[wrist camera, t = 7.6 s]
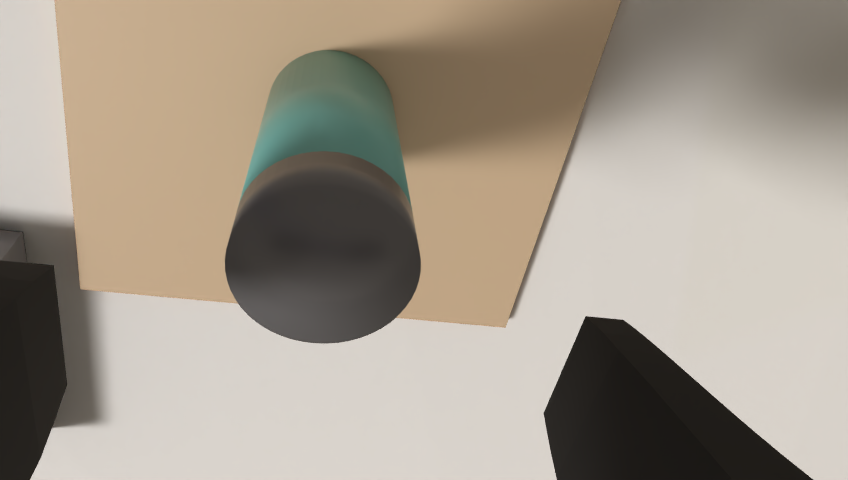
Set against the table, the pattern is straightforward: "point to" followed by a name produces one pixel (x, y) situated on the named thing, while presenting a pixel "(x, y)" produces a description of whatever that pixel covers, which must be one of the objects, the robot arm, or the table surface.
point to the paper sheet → (244, 108)
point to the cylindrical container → (325, 207)
